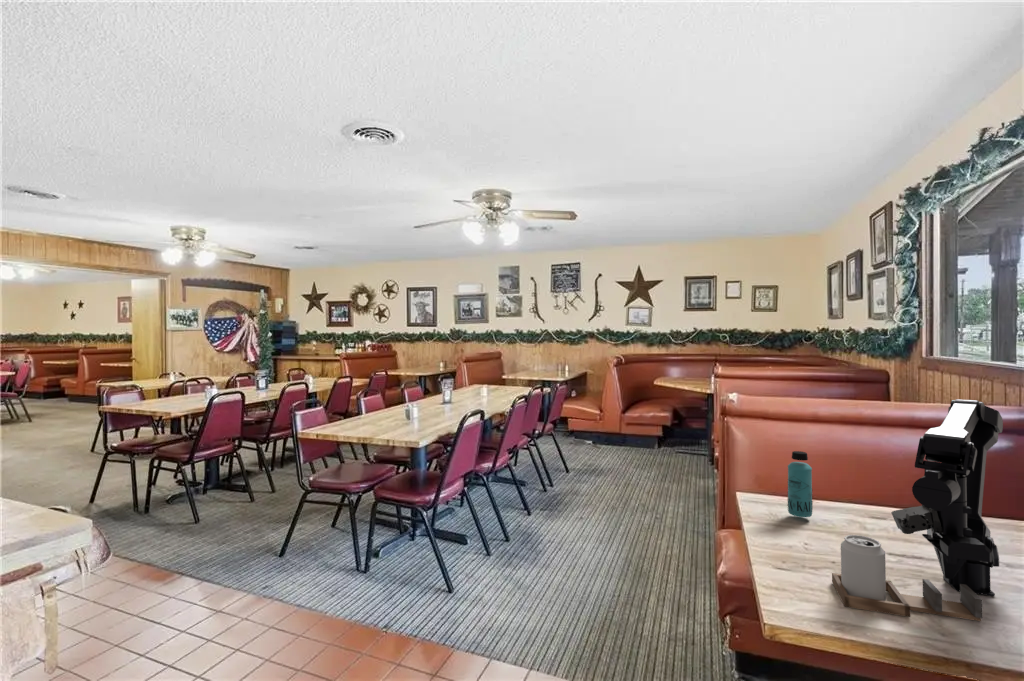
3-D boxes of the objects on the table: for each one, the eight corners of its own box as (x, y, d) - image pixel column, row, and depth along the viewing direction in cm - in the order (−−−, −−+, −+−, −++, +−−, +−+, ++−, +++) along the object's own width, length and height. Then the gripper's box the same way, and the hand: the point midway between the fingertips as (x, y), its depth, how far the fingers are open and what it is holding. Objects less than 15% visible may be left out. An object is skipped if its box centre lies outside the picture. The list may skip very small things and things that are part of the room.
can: (888, 611, 96) (887, 550, 96) (842, 601, 100) (841, 542, 100) (883, 594, 102) (882, 536, 102) (840, 585, 106) (839, 530, 106)
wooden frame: (961, 600, 99) (960, 579, 99) (989, 629, 89) (988, 605, 89) (832, 582, 107) (831, 562, 107) (844, 606, 97) (844, 584, 97)
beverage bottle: (789, 513, 150) (788, 448, 151) (815, 518, 146) (813, 451, 146) (785, 519, 145) (784, 452, 145) (811, 524, 141) (810, 455, 141)
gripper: (881, 481, 107) (882, 552, 107) (914, 508, 90) (916, 593, 90) (944, 486, 103) (946, 560, 103) (993, 515, 86) (994, 605, 86)
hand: (948, 578), depth 95 cm, fingers closed
